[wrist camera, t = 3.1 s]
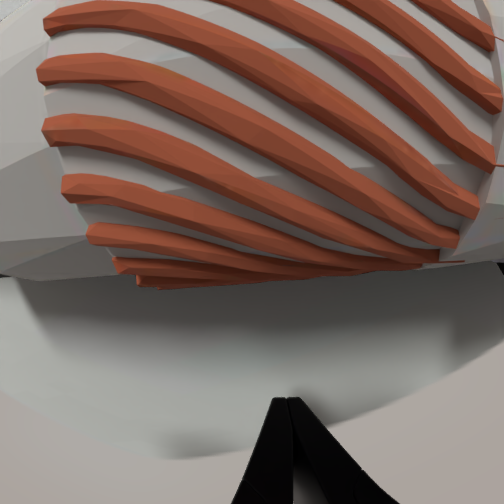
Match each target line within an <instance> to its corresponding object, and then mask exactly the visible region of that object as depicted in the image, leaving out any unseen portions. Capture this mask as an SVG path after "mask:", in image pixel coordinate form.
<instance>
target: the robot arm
mask: <svg viewBox="0 0 504 504" xmlns="http://www.w3.org/2000/svg"><path fill="white" fill-rule="evenodd" d="M293 501H294V504H399V503H398V502H397V501H396V500H394V499H393V498H392V497H391V496H390V495H388V494H387V493H386V492H385V491H384V490H383V489H381V488H380V487H379V486H378V485H377V484H376V483H375V482H374V481H373V480H372V479H371V478H370V477H369V476H368V474H367V473H366V472H365V471H364V470H362V468H361V467H360V466H359V465H358V464H357V462H356V461H355V460H354V459H353V458H352V457H351V456H350V455H349V454H348V453H347V451H346V450H345V449H344V448H343V447H342V446H341V445H340V443H339V442H338V441H337V440H336V439H335V438H334V437H333V436H332V434H331V433H330V432H329V431H328V430H327V428H326V427H325V426H324V425H323V424H322V423H321V421H320V420H319V419H318V418H317V417H316V416H315V414H314V413H313V412H312V411H311V410H310V408H309V407H308V406H307V405H306V404H305V402H304V401H303V400H302V399H301V398H300V397H288V398H285V397H274V398H273V399H272V401H271V404H270V406H269V409H268V412H267V415H266V418H265V420H264V423H263V426H262V429H261V431H260V434H259V437H258V439H257V442H256V445H255V447H254V450H253V453H252V455H251V458H250V461H249V463H248V465H247V468H246V470H245V473H244V476H243V478H242V481H241V483H240V485H239V487H238V490H237V492H236V494H235V496H234V498H233V500H232V503H231V504H293Z"/></svg>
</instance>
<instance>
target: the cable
mask: <svg viewBox="0 0 504 504" xmlns="http://www.w3.org/2000/svg"><path fill="white" fill-rule="evenodd" d="M490 260H491V261H493V262H496V263H497V265H498V266H499V268H500V270H501V271H502V273H503V275H504V0H30V1H29V2H27V3H26V4H24V5H23V6H21V7H20V8H18V9H17V10H16V11H14V12H13V13H11V14H10V15H9V16H7V17H6V18H4V19H3V20H1V21H0V278H2V277H17V278H22V279H27V280H33V281H50V280H62V279H75V278H87V277H99V276H111V275H123V274H131V275H136V280H137V285H138V286H139V287H157V289H158V290H165V289H179V288H192V287H208V286H223V285H237V284H250V283H261V282H267V281H282V280H305V279H311V278H316V277H322V276H353V275H358V274H363V273H368V272H373V271H403V270H411V269H414V270H423V269H431V268H439V267H447V266H454V265H462V264H469V263H476V262H483V261H490Z"/></svg>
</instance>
